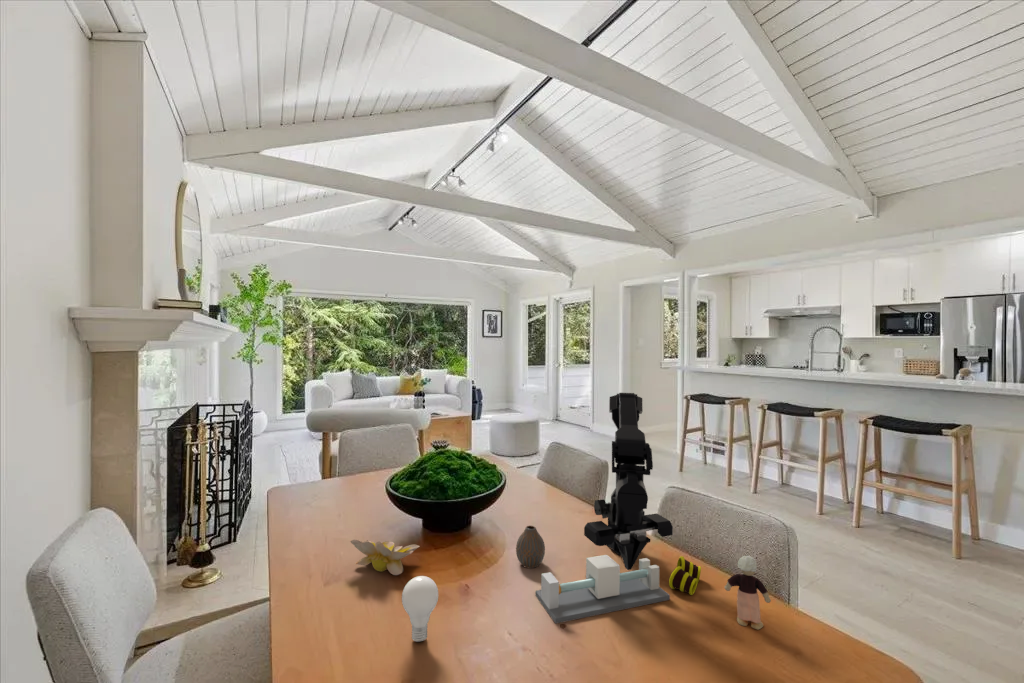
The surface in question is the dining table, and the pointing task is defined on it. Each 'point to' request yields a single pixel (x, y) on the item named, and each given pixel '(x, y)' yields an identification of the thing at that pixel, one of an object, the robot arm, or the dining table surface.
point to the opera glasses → (685, 576)
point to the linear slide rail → (582, 603)
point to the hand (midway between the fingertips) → (628, 569)
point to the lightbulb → (419, 604)
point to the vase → (530, 548)
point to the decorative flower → (383, 555)
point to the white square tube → (603, 575)
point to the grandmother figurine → (748, 593)
